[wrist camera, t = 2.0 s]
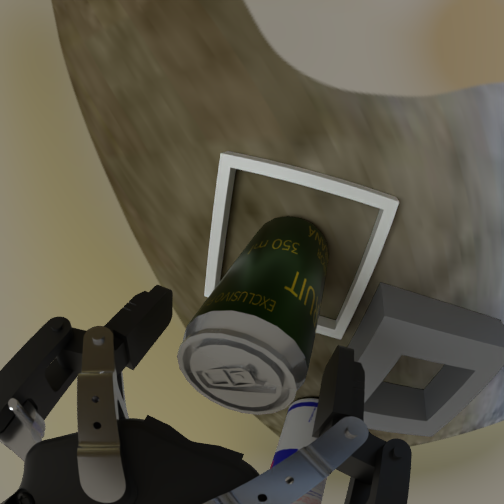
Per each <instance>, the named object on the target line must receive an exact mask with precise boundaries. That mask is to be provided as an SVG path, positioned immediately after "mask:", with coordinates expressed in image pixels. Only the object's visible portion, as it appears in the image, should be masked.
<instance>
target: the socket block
mask: <svg viewBox="0 0 504 504" xmlns="http://www.w3.org/2000/svg"><path fill="white" fill-rule="evenodd" d="M347 348H351V349H354V361H356V362H360V363H361V364H362V366H363V369H364V371H365V383H364V384H365V390H364V391H365V397H364V423H365V424H366V425H367V427H368V429H374V430H380V431H387V432H394V433H401V434H410V435H419V436H431V437H432V436H433V435H434V434H435V433H437V432H438V431H439V430H440V429H441V428H443V427H444V426H445V425H446V424H447V423H448V422H449V421H451V420H452V419H453V418H454V417H455V416H456V415H457V414H458V413H459V412H460V411H461V410H463V409H464V408H465V407H466V406H467V405H468V404H469V403H470V402H471V401H472V400H473V399H474V398H475V397H476V396H477V395H478V394H479V393H480V392H481V390H482V389H483V388H484V387H485V386H486V385H487V384H488V383H489V382H490V381H491V380H492V378H493V377H494V376H495V375H496V374H497V373H498V372H499V370H500V369H501V368H502V367H503V366H504V326H503V324H502V322H501V320H499V319H496V318H493V317H490V316H486V315H483V314H480V313H477V312H474V311H471V310H468V309H465V308H461V307H458V306H455V305H452V304H449V303H446V302H442V301H439V300H436V299H433V298H430V297H427V296H423V295H420V294H417V293H414V292H411V291H407V290H404V289H401V288H398V287H394V286H391V285H388V284H385V283H382V282H380V284H379V286H378V288H377V291H376V293H375V295H374V297H373V299H372V301H371V303H370V305H369V307H368V309H367V311H366V313H365V315H364V317H363V319H362V321H361V323H360V325H359V327H358V329H357V331H356V332H355V334H354V336H353V338H352V340H351V342H350V344H349V345H348V347H347ZM401 355H405V356H410V357H414V358H418V359H423V360H427V361H431V362H436V363H441V364H445V365H444V366H443V368H442V369H441V370H440V371H439V372H438V374H437V375H436V376H435V377H434V378H433V380H432V381H431V382H430V383H429V384H428V385H427V386H426V388H425V389H424V390H422V389H417V388H411V387H406V386H401V385H396V384H391V383H387V382H382V381H383V380H384V378H385V377H386V376H387V374H388V373H389V372H390V370H391V369H392V368H393V366H394V365H395V364H396V362H397V361H398V359H399V358H400V357H401Z"/></svg>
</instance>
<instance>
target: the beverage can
mask: <svg viewBox="0 0 504 504" xmlns="http://www.w3.org/2000/svg"><path fill="white" fill-rule="evenodd" d="M318 401H319V399H316V398H305V399H300V400H297V401H295V402H293V403H292V404H291V405H290V406H289V409H288V413H287V416H286V420H285V423H284V427H283V430H282V433H281V436H280V440H279V443H278V446H277V449H276V452H275V455H274V459H273V462H272V464H271V467H270V469H271V468H272V467H274V466H275V465H277V464H278V463H280V462H282V461H283V460H285V459H286V458H288V457H289V456H291V455H292V454H294V453H295V452H296V451H298V450H299V449H301V448H303V447H306V446H308V445H309V444H311V443H312V442H313V441H315V440H316V439H317V438H315V437H312V433H313V428H314V423H315V418H316V412H317V407H318ZM326 480H327V477H326V478H325V479H324V480H323V481H321V482H320V483H319V484H318V485H316V486H315V487H314V488H312V489H311V490H310V491H309V492H307V493H306V494H304V495H303V496H302V497H300V498H299V499H298V500H296V501H295V502H293V503H292V504H321V501H322V496H323V493H324V488H325V484H326Z"/></svg>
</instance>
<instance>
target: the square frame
mask: <svg viewBox="0 0 504 504" xmlns="http://www.w3.org/2000/svg"><path fill="white" fill-rule="evenodd" d="M236 169H240V170H244V171H249V172H253V173H257V174H261V175H265V176H269V177H273V178H277V179H281V180H285V181H289V182H293V183H297V184H300V185H304V186H308V187H311V188H315V189H318V190H322V191H325V192H329V193H332V194H335V195H339V196H342V197H345V198H349V199H352V200H355V201H358V202H361V203H364V204H368V205H371V206H374V207H377V208H380V210H379V213H378V216H377V219H376V222H375V225H374V228H373V231H372V233H371V236H370V239H369V242H368V244H367V247H366V250H365V252H364V255H363V258H362V260H361V263H360V265H359V268H358V270H357V273H356V275H355V278H354V280H353V283H352V285H351V287H350V290H349V292H348V294H347V297H346V299H345V301H344V304H343V306H342V308H341V310H340V313H339V315H338V317H337V319H336V320H333V319H330V318H326V317H323V316H320V315H319V318H318V323H317V328H316V333H319V334H323V335H326V336H330V337H333V338H337V339H340V340H341V338H342V336H343V334H344V332H345V330H346V329H347V327H348V325H349V323H350V320H351V318H352V316H353V314H354V312H355V310H356V308H357V306H358V304H359V302H360V300H361V297H362V295H363V293H364V291H365V289H366V286H367V284H368V282H369V279H370V277H371V275H372V273H373V270H374V268H375V265H376V263H377V261H378V258H379V256H380V253H381V251H382V248H383V246H384V243H385V240H386V238H387V235H388V233H389V230H390V227H391V224H392V222H393V219H394V216H395V213H396V210H397V208H398V205H399V201H398V199H397V197H395V196H392V195H389V194H386V193H383V192H380V191H377V190H374V189H371V188H368V187H365V186H362V185H359V184H356V183H353V182H349V181H346V180H343V179H339V178H336V177H333V176H329V175H326V174H322V173H319V172H315V171H311V170H308V169H304V168H300V167H296V166H292V165H288V164H284V163H280V162H276V161H272V160H267V159H263V158H259V157H254V156H250V155H245V154H240V153H235V152H230V151H226V152H223V153H221V155H220V162H219V169H218V177H217V184H216V192H215V200H214V208H213V216H212V225H211V233H210V243H209V252H208V262H207V272H206V282H205V293H204V296H206V297H209V296H210V294H211V293H212V292H213V290H214V289H215V288H216V286H217V285H218V284H219V282H220V278H221V270H222V262H223V255H224V248H225V240H226V233H227V226H228V219H229V213H230V206H231V199H232V192H233V186H234V179H235V173H236Z"/></svg>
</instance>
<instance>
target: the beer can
mask: <svg viewBox="0 0 504 504" xmlns="http://www.w3.org/2000/svg"><path fill="white" fill-rule="evenodd" d="M328 258H329V252H328V246H327V242H326V240H325V238H324V237H323V235H322V233H321V232H320V231H319V230H318V229H317V228H316V227H315V226H314V225H313V224H311V223H309V222H307V221H305V220H303V219H301V218H296V217H290V216H286V217H279V218H275V219H273V220H271V221H269V222H267V223H265V224H264V225H263V226H262V228H261V229H260V230H259V231H258V232H257V233H256V235H255V236H254V237H253V239H252V240H251V241H250V243H249V244H248V245H247V246H246V248H245V249H244V250H243V252H242V253H241V254H240V256H239V257H238V258H237V260H236V261H235V262H234V264H233V265H232V266H231V268H230V269H229V270H228V272H227V273H226V274H225V276H224V277H223V278H222V280H221V281H220V282H219V284H218V285H217V286H216V288H215V289H214V290H213V292H212V293H211V294H210V296H209V297H208V298H207V300H206V301H205V302H204V304H203V305H202V307H201V308H200V309H199V311H198V312H197V313H196V315H195V316H194V317H193V319H192V320H191V321H190V323H189V324H188V325H187V327H186V331H185V334H184V338H183V342H182V344H181V345H180V348H179V351H178V355H177V358H178V363H179V367H180V370H181V371H182V373H183V374H184V376H185V378H186V380H187V381H188V382H189V383H190V384H191V385H192V386H193V387H194V388H195V389H196V390H197V391H198V392H199V393H201V394H202V395H204V396H205V397H207V398H208V399H209V400H211V401H213V402H215V403H217V404H219V405H221V406H223V407H225V408H228V409H231V410H234V411H238V412H241V413H248V414H258V415H259V414H269V413H275V412H277V411H280V410H282V409H285V408H286V407H287V406H288V405H289V404H290V403H291V402H292V401H294V398H295V394H296V391H297V390H298V389H299V388H300V387H301V386H302V384H303V383H304V382H305V378H306V374H307V371H308V367H309V362H310V358H311V353H312V348H313V343H314V338H315V333H316V328H317V323H318V318H319V312H320V307H321V301H322V296H323V290H324V284H325V277H326V271H327V264H328Z"/></svg>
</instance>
